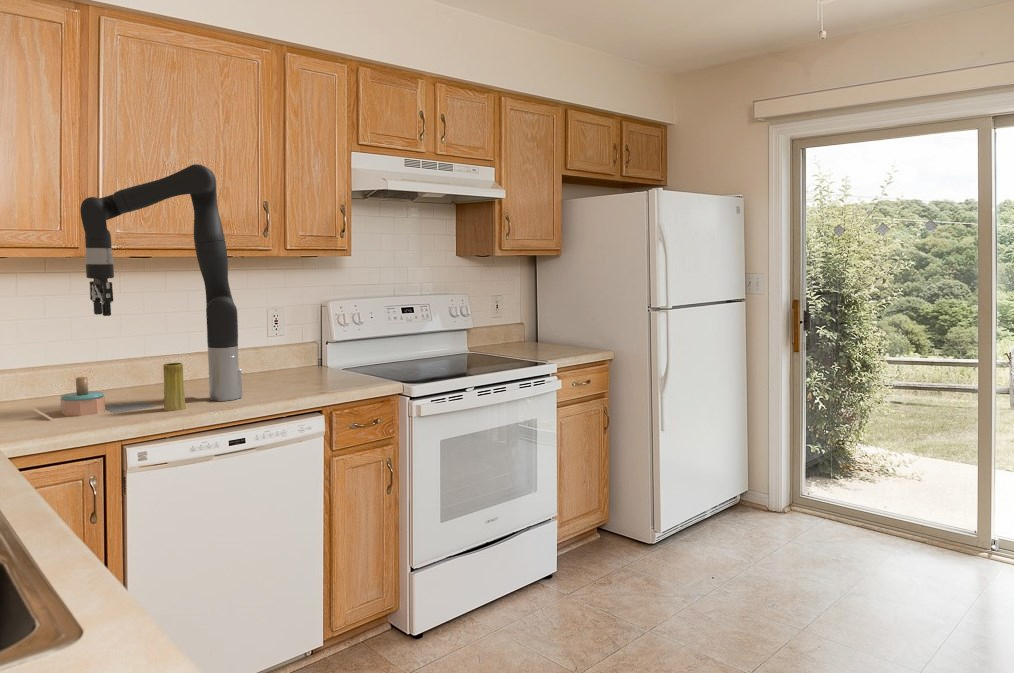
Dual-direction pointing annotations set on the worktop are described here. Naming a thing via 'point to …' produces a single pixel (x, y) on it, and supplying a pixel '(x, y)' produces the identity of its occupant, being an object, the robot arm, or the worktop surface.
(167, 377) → the vase
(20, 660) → the worktop surface
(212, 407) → the worktop surface
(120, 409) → the mat
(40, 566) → the worktop surface
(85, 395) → the lid
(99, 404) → the bowl
